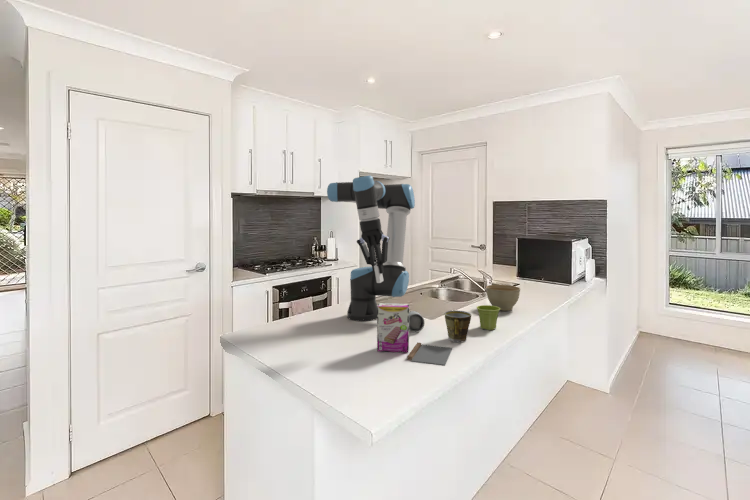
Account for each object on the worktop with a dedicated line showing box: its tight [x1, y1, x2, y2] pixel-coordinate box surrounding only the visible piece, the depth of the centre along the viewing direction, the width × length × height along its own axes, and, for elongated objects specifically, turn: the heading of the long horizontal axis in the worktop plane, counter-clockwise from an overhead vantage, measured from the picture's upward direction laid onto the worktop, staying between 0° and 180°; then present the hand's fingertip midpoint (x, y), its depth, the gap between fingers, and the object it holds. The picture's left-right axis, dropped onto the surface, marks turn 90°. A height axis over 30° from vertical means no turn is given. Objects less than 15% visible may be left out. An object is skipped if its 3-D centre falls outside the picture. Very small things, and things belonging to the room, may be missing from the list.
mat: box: [410, 343, 453, 366], centre depth 129 cm, size 11×16×1 cm
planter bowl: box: [485, 284, 521, 312], centre depth 189 cm, size 16×16×11 cm
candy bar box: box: [376, 302, 410, 353], centre depth 133 cm, size 11×5×16 cm, turn 84°
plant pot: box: [476, 304, 501, 331], centre depth 158 cm, size 9×9×9 cm
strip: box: [407, 342, 422, 361], centre depth 131 cm, size 2×14×1 cm, turn 160°
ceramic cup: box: [444, 310, 472, 343], centre depth 142 cm, size 13×10×10 cm
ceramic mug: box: [409, 310, 425, 333], centre depth 157 cm, size 11×8×8 cm
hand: (380, 281), depth 141 cm, fingers closed
